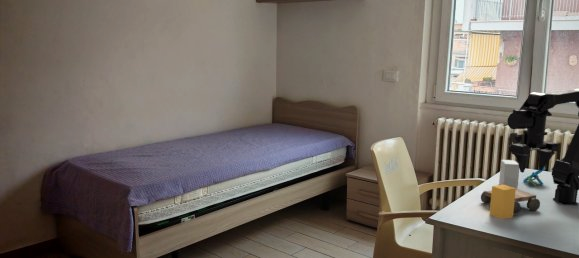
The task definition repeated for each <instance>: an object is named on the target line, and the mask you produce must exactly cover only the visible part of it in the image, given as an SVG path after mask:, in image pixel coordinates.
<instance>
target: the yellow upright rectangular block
mask: <svg viewBox="0 0 579 258" xmlns="http://www.w3.org/2000/svg"><path fill="white" fill-rule="evenodd" d="M491 190H492V194H491V203H489V205H490V206H489V215H490V216H493V217H495V218H499V219H501V220H503V219H508V218H513V217H514V214H513V211H514V201H515V192H516V188H513V187H510V186H507V185H500V184H497V185H492V186H491Z"/></svg>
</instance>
